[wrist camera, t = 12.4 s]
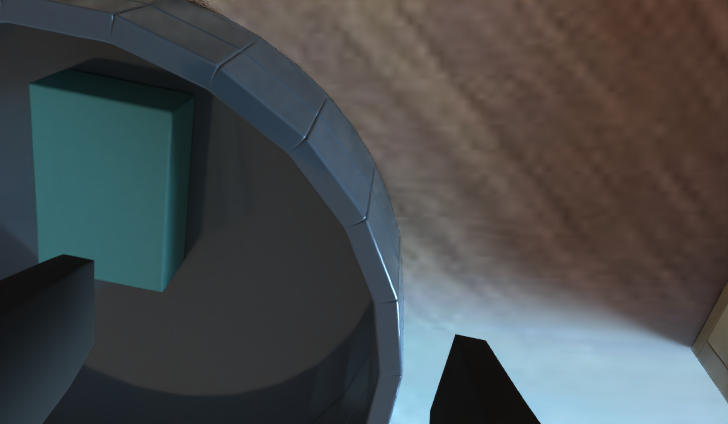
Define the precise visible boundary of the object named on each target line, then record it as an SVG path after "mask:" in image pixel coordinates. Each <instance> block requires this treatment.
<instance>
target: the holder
mask: <svg viewBox="0 0 728 424" xmlns="http://www.w3.org/2000/svg"><path fill="white" fill-rule="evenodd" d="M692 352H693V353H694V355H695V356H696V357H697V358H698V360H699V362H700V363H701V365H702V366H703V368H704V369H705V371H706V372H707V373H708V375H709V376H710V378H711V379H712V381H713V382H714V384H715V385H716V387H717V388H718V390H719V391H720V392H721V394H722V395H723V397H724V398H725V400H726V401H727V403H728V282H727V284H726V286H725V287H724V289H723V291H722V293H721V295H720V297H719V299H718V300H717V302H716V304H715V306H714V308H713V310H712V312H711V314H710V315H709V317H708V319H707V321H706V323H705V325H704V327H703V328H702V330H701V332H700V334H699V336H698V338H697V340H696V341H695V343H694V345H693V347H692Z"/></svg>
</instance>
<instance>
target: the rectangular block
mask: <svg viewBox="0 0 728 424" xmlns="http://www.w3.org/2000/svg"><path fill="white" fill-rule="evenodd" d="M28 90H29V107H30V124H31V142H32V159H33V176H34V194H35V211H36V228H37V246H38V263H41V262H44V261H46V260H49V259H51V258H54V257H56V256H59V255H62V254H67V255H72V256H76V257H81V258H86V259H91V260H94V279H97V280H102V281H107V282H112V283H117V284H122V285H127V286H132V287H137V288H142V289H148V290H153V291H158V292H163V291H164V289H165V288H166V286H167V285H168V284H169V282H170V281H171V279H172V278H173V276H174V275H175V273H176V272H177V271H178V269H179V268H180V266H181V265H182V263H183V262H184V250H185V235H186V219H187V204H188V189H189V174H190V158H191V143H192V128H193V113H194V95H192V94H187V93H182V92H178V91H173V90H168V89H163V88H158V87H153V86H148V85H143V84H138V83H133V82H128V81H123V80H118V79H114V78H109V77H104V76H99V75H94V74H89V73H84V72H79V71H74V70H69V69H64V70H62V71H59V72H56V73H54V74H51V75H49V76H46V77H44V78H41V79H38V80H36V81H33V82H31V83H29V85H28Z"/></svg>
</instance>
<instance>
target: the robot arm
mask: <svg viewBox="0 0 728 424" xmlns="http://www.w3.org/2000/svg"><path fill="white" fill-rule="evenodd" d="M93 345H94V260H91V259H86V258H81V257H76V256H72V255H67V254H62V255H59V256H56V257H54V258H51V259H49V260H46V261H44V262H41V263H39V264H37V265H34V266H32V267H30V268H27V269H25V270H23V271H20V272H18V273H16V274H14V275H11V276H9V277H7V278H4V279H2V280H0V424H42V423H43V422H44V421H45V419H46V418H47V417H48V416H49V414H50V413H51V412H52V410H53V409H54V408H55V406H56V405H57V404H58V402H59V401H60V400H61V398H62V397H63V395H64V394H65V393H66V391H67V390H68V389H69V387H70V386H71V384H72V382H73V380H74V379H75V377H76V375H77V374H78V372H79V370H80V369H81V367H82V365H83V363H84V361H85V360H86V358H87V356H88V354H89V352H90V351H91V349H92V347H93ZM430 424H541V423H540V422H539V421H538V419H537V418H536V416H535V415H534V414H533V412H532V411H531V409H530V408H529V406H528V405H527V403H526V402H525V401H524V399H523V398H522V396H521V395H520V393H519V392H518V390H517V389H516V387H515V385H514V384H513V382H512V381H511V379H510V378H509V376H508V375H507V373H506V371H505V370H504V368H503V367H502V365H501V364H500V362H499V360H498V359H497V357H496V356H495V354H494V353H493V351H492V349H491V348H490V346H489V345H488V343H487V342H486V340H481V339H476V338H471V337H466V336H461V335H456V334H455V337H454V340H453V343H452V347H451V350H450V353H449V356H448V359H447V362H446V365H445V368H444V371H443V374H442V377H441V380H440V383H439V386H438V389H437V392H436V395H435V398H434V401H433V404H432V407H431V410H430Z"/></svg>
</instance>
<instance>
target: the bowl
mask: <svg viewBox="0 0 728 424" xmlns="http://www.w3.org/2000/svg"><path fill="white" fill-rule="evenodd" d="M64 69H69V70H74V71H79V72H84V73H89V74H94V75H99V76H104V77H109V78H114V79H118V80H123V81H128V82H133V83H138V84H143V85H148V86H153V87H158V88H163V89H168V90H173V91H178V92H182V93H187V94H192V95H194V113H193V128H192V143H191V158H190V174H189V189H188V204H187V219H186V235H185V250H184V262H183V263H182V265H181V266H180V268H179V269H178V271H177V272H176V273H175V275H174V276H173V278H172V279H171V281H170V282H169V284H168V285H167V286H166V288H165V289H164V291H163V292H158V291H153V290H148V289H142V288H137V287H132V286H127V285H122V284H117V283H112V282H107V281H102V280H97V279H94V345H93V347H92V349H91V351H90V352H89V354H88V356H87V358H86V360H85V361H84V363H83V365H82V367H81V369H80V370H79V372H78V374H77V375H76V377H75V379H74V380H73V382H72V384H71V386H70V387H69V389H68V390H67V391H66V393H65V394H64V395H63V397H62V398H61V400H60V401H59V402H58V404H57V405H56V406H55V408H54V409H53V410H52V412H51V413H50V414H49V416H48V417H47V418H46V419H45V421H44V422H43V423H42V424H389V423H390V419H391V416H392V412H393V408H394V405H395V401H396V398H397V394H398V390H399V387H400V383H401V380H402V373H403V316H404V294H403V276H402V255H401V240H400V235H399V230H398V226H397V222H396V219H395V215H394V212H393V208H392V204H391V201H390V197H389V194H388V191H387V189H386V187H385V185H384V182H383V180H382V178H381V175H380V173H379V171H378V169H377V166H376V164H375V162H374V160H373V158H372V156H371V155H370V153H369V151H368V150H367V148H366V146H365V145H364V143H363V141H362V140H361V138H360V137H359V135H358V133H357V132H356V130H355V128H354V127H353V125H352V124H351V123H350V122H349V120H348V119H347V118H346V117H345V115H344V114H343V113H342V112H341V110H340V109H339V108H338V107H337V105H336V104H335V103H334V102H333V100H332V99H331V98H330V97H329V95H328V94H327V93H326V92H325V91H324V90H323V89H322V88H321V87H320V86H319V85H318V84H317V83H316V82H314V81H313V80H312V79H311V78H310V77H309V76H308V75H307V74H306V73H305V72H304V71H303V70H302V69H301V68H300V67H299V66H298V65H297V64H296V63H294V62H293V61H292V60H290V59H289V58H288V57H286V56H285V55H284V54H282V53H281V52H280V51H278V50H277V49H276V48H274V47H273V46H272V45H270V44H269V43H268V42H266V41H265V40H264V39H263V38H261V37H259V36H258V35H256V34H254V33H252V32H251V31H249V30H247V29H245V28H244V27H242V26H240V25H238V24H237V23H235V22H233V21H232V20H230V19H228V18H226V17H225V16H223V15H220V14H218V13H216V12H213V11H211V10H209V9H206V8H204V7H201V6H199V5H197V4H194V3H192V2H189V1H187V0H0V280H2V279H4V278H7V277H9V276H11V275H14V274H16V273H18V272H20V271H23V270H25V269H27V268H30V267H32V266H34V265H37V264H39V263H38V246H37V228H36V211H35V194H34V176H33V159H32V142H31V124H30V107H29V90H28V85H29V83H31V82H33V81H36V80H38V79H41V78H44V77H46V76H49V75H51V74H54V73H56V72H59V71H62V70H64Z"/></svg>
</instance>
